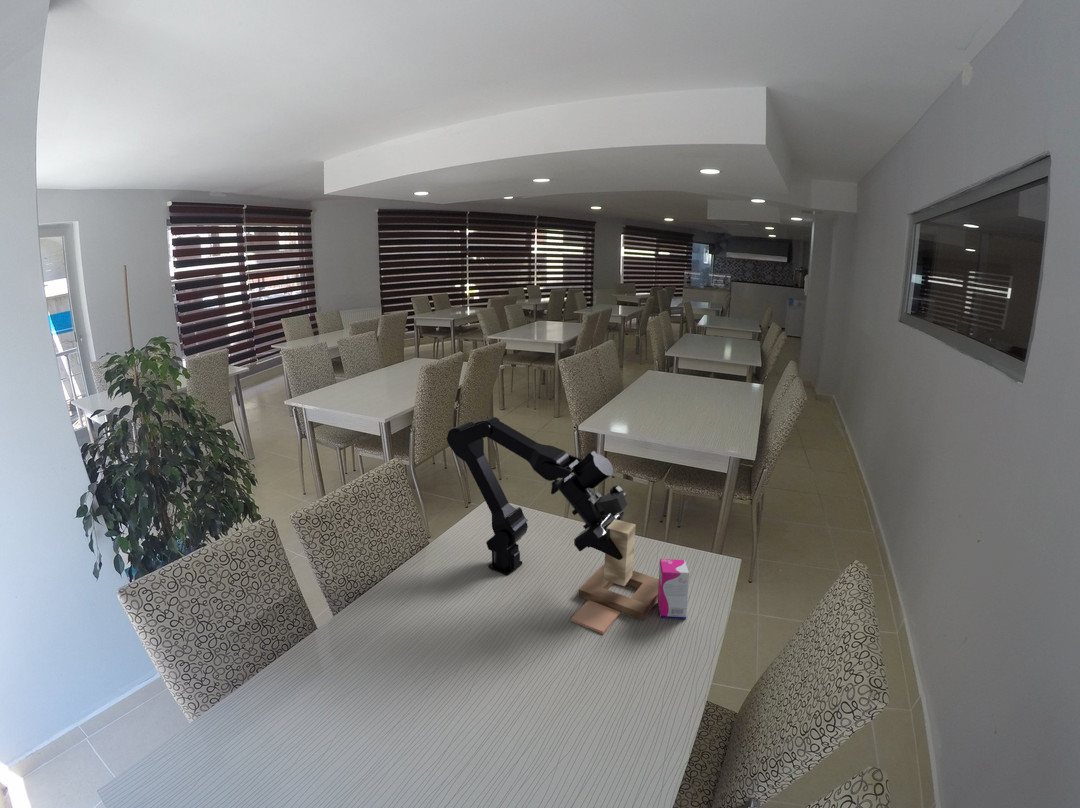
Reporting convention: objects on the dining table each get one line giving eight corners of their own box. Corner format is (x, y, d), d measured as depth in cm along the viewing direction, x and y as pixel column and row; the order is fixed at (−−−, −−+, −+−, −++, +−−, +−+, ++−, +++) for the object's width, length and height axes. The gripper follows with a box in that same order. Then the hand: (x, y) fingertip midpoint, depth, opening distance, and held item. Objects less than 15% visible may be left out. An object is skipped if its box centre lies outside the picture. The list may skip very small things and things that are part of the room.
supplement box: (682, 603, 130) (686, 558, 127) (686, 619, 125) (690, 574, 121) (656, 601, 131) (659, 557, 128) (659, 618, 125) (662, 572, 122)
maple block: (603, 580, 129) (606, 527, 126) (611, 569, 133) (614, 519, 130) (624, 586, 127) (627, 533, 123) (632, 575, 131) (635, 524, 127)
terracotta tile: (570, 620, 124) (570, 618, 124) (588, 602, 131) (588, 599, 131) (603, 634, 120) (603, 631, 120) (620, 614, 126) (620, 611, 126)
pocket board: (578, 596, 133) (578, 589, 132) (606, 568, 144) (606, 561, 143) (642, 620, 124) (642, 613, 124) (666, 589, 135) (666, 581, 135)
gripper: (588, 496, 117) (637, 557, 115) (620, 465, 133) (663, 518, 131) (554, 522, 123) (600, 580, 121) (588, 489, 139) (629, 540, 137)
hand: (625, 553), depth 128 cm, fingers closed on maple block, 5 cm apart
